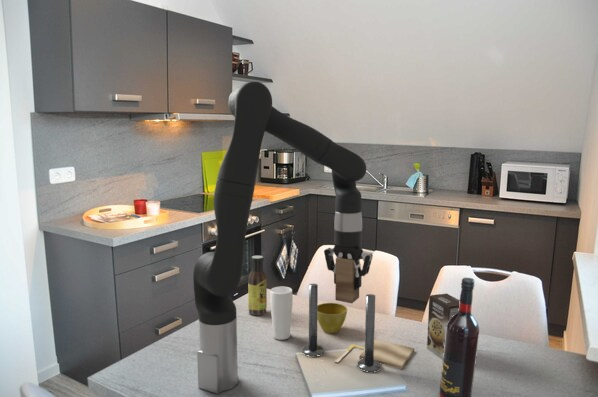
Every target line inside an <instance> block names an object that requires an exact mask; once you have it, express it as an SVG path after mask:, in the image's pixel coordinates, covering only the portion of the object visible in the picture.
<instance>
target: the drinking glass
mask: <svg viewBox="0 0 598 397" xmlns="http://www.w3.org/2000/svg"><path fill="white" fill-rule="evenodd" d="M269 294H270V295H269V296H270V297H269V298H270V299H269V301H270V302H269V303H270V304H269V305H270V313H271V314H270V315H271V324H272V326H271V327H272V337H273V338H274V339H275V340H278V341H284V340H287V339H289V338H290V337H291V324H292V313H293V312H292V311H293V298H294V297H293V296H294V295H293V289H292V288H291V287H288V286H283V285H282V286H281V285H280V286H275V287H272V288H271V289H270V293H269Z"/></svg>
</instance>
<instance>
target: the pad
mask: <svg viewBox="0 0 598 397" xmlns="http://www.w3.org/2000/svg"><path fill="white" fill-rule="evenodd" d="M414 352H415V348H414V347H410V346H406V345H402V344H397V343H393V342H389V341H385V340H382V339H381V340H380V339H376V338H374V360H376V361H378V362H379V363H381V364H380V365H382V364H385V365H384V366H386V365H388V366H387V367H390V366H391V368H393V369H398V370H402V369H403V368H404V366H405V365H406V363H407V362H408V361H409V359H410V358H411V356H412V355H413V353H414ZM359 358H363V359H365V350H363V351H362V352H361V354H359Z"/></svg>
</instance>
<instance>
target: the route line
mask: <svg viewBox="0 0 598 397" xmlns="http://www.w3.org/2000/svg"><path fill="white" fill-rule="evenodd" d="M354 348H355V349H359V350H363V349H365V346H362V345H357V344H350V345H349V347H348V348H346V349H345V351H350V350H351V349H352V350H353V349H354ZM352 350H351V351H352ZM351 351H350V352H351Z"/></svg>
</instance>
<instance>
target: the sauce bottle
mask: <svg viewBox="0 0 598 397" xmlns="http://www.w3.org/2000/svg"><path fill="white" fill-rule="evenodd" d="M250 260H251V271H250V272H249V274H248V287H247V289H248V291H247V295H248V296H247V298H248V300H247V302H248V304H247V305H248V307H247V308H248V313H249V314H250V315H252V316H261V315H264V314H266V312H267V305H268V303H267V302H268V301H267V300H268V298H267V293H268V292H267V291H268V290H267V287H268V286H267V283H268V282H267V280H268V279H267V275H266V273H265V271H264V256H263V255H253V256H251V259H250Z"/></svg>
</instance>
